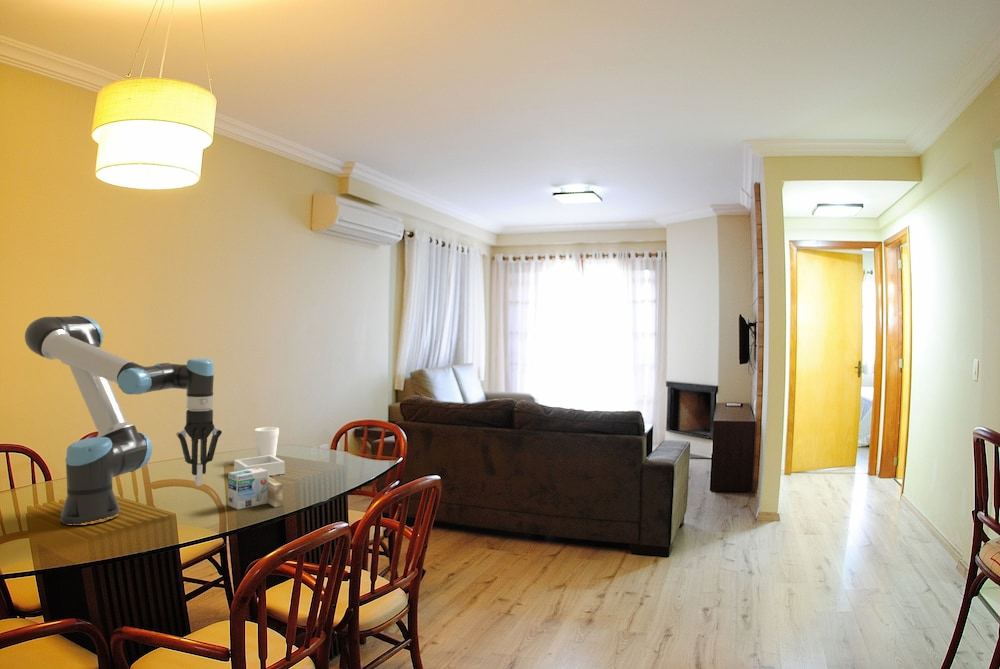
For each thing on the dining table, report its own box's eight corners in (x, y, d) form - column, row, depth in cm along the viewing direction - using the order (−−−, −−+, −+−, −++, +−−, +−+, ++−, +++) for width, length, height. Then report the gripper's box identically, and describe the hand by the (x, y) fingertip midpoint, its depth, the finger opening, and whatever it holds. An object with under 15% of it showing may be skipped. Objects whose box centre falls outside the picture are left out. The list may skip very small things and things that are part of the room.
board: (274, 507, 214) (274, 485, 213) (254, 493, 230) (254, 473, 229) (282, 505, 215) (282, 484, 215) (261, 492, 231) (261, 471, 231)
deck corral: (246, 480, 246) (245, 467, 246) (234, 472, 258) (234, 459, 257) (284, 474, 255) (284, 461, 255) (271, 467, 266) (271, 454, 266)
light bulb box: (237, 510, 211) (237, 476, 210) (227, 505, 215) (227, 472, 215) (269, 502, 219) (268, 470, 218) (258, 498, 223) (258, 466, 223)
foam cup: (258, 457, 283) (258, 427, 283) (281, 457, 284) (280, 426, 284) (252, 463, 274) (252, 431, 273) (276, 462, 275) (275, 430, 274)
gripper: (179, 412, 200) (178, 490, 202) (225, 409, 208) (223, 484, 210) (174, 408, 206) (172, 484, 208) (218, 406, 214) (217, 479, 216)
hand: (198, 484), depth 209 cm, fingers closed
